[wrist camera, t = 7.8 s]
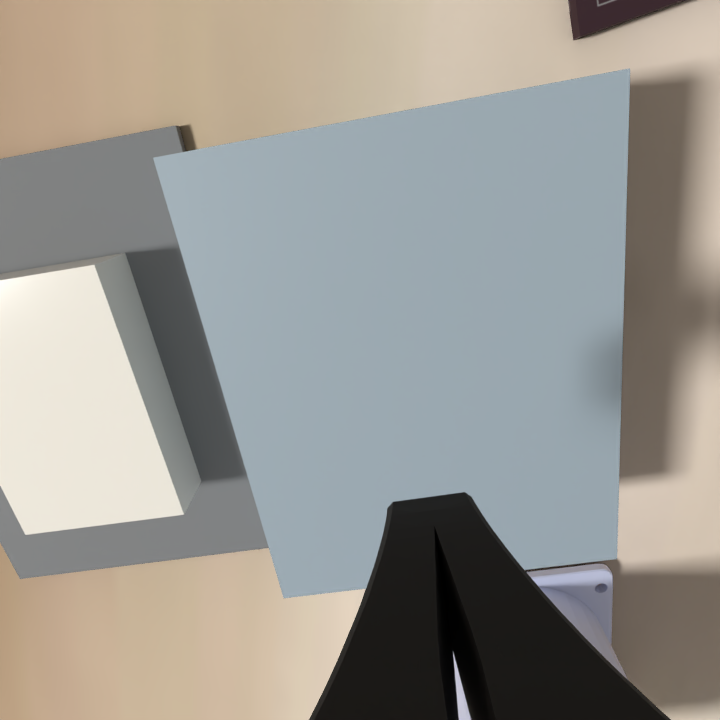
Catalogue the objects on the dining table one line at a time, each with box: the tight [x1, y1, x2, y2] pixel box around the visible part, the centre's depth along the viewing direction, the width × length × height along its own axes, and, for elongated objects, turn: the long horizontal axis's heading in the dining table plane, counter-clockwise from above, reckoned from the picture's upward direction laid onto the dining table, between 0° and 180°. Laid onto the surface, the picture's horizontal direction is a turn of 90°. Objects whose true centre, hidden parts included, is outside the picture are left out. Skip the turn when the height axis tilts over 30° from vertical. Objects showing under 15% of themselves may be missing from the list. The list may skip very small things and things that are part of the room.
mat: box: [0, 126, 269, 579], centre depth 18 cm, size 16×12×1 cm
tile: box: [0, 253, 201, 535], centre depth 17 cm, size 9×6×2 cm, turn 9°
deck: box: [153, 69, 630, 598], centre depth 16 cm, size 14×11×4 cm
